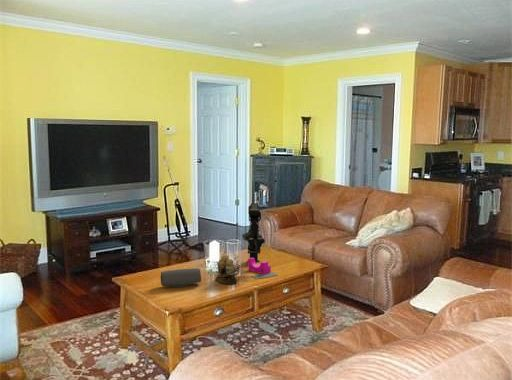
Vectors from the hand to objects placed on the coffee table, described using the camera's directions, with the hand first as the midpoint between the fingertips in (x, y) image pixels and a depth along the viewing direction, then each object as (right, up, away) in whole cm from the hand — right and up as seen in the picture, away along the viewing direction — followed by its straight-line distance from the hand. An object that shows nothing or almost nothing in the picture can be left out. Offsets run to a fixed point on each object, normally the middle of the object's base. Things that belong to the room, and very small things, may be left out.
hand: (253, 250), depth 303 cm
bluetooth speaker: (-43, -16, -36) cm, 58 cm away
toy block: (+4, -13, -5) cm, 14 cm away
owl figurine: (-17, -15, -26) cm, 35 cm away
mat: (+7, -14, -15) cm, 22 cm away
